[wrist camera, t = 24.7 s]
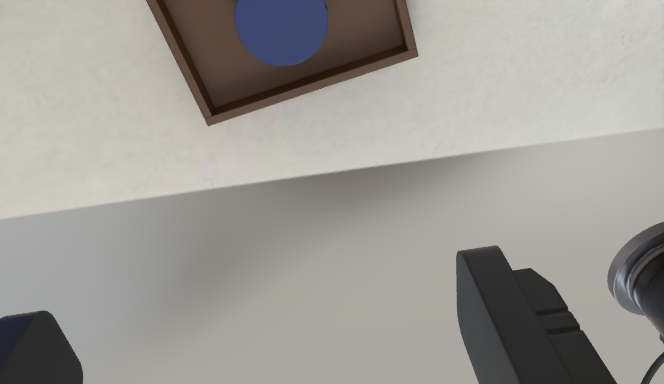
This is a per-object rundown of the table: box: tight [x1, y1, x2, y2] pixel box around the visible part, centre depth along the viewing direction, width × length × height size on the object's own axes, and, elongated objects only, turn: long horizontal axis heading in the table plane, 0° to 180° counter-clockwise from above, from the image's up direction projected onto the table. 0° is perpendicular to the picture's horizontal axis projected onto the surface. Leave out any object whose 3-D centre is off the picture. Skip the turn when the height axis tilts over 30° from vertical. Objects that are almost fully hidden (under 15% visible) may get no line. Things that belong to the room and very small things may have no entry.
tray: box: [146, 0, 418, 126], centre depth 33 cm, size 10×15×2 cm
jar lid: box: [235, 0, 328, 66], centre depth 33 cm, size 6×6×2 cm
